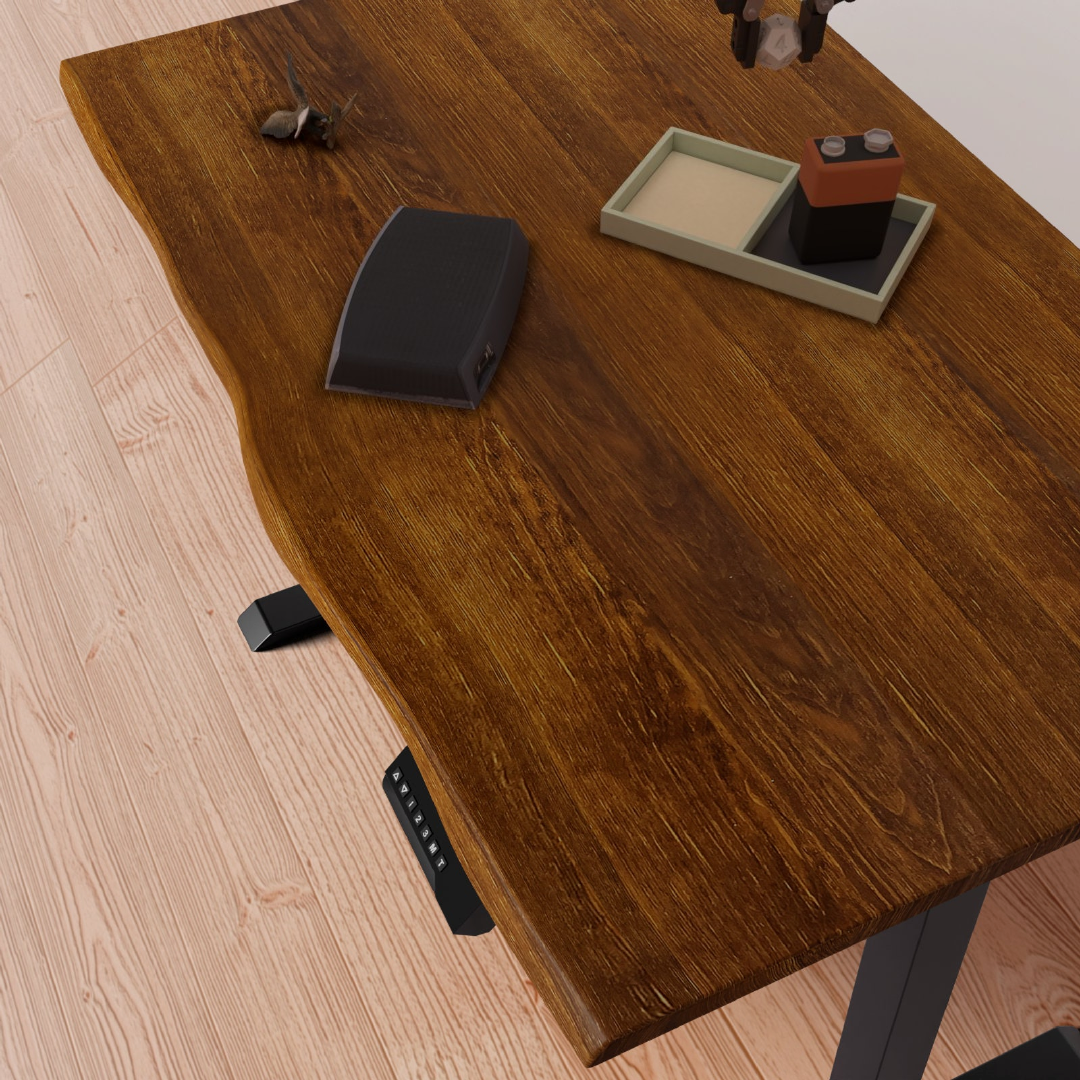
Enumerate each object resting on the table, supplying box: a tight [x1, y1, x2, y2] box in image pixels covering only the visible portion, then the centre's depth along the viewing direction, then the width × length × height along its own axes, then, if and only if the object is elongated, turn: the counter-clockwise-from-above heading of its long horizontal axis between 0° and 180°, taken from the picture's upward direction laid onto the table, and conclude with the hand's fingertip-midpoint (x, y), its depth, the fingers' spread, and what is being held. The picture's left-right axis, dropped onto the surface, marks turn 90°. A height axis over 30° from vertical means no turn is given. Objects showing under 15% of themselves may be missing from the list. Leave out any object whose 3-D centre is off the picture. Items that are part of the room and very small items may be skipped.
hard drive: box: [324, 205, 530, 411], centre depth 90 cm, size 13×19×4 cm
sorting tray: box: [599, 126, 937, 325], centre depth 96 cm, size 24×14×3 cm, turn 61°
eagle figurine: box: [259, 50, 359, 150], centre depth 105 cm, size 8×7×9 cm
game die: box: [755, 12, 802, 72], centre depth 82 cm, size 4×4×3 cm
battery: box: [788, 127, 906, 264], centre depth 91 cm, size 4×7×10 cm, turn 97°
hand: (774, 59), depth 84 cm, fingers closed on game die, 3 cm apart
